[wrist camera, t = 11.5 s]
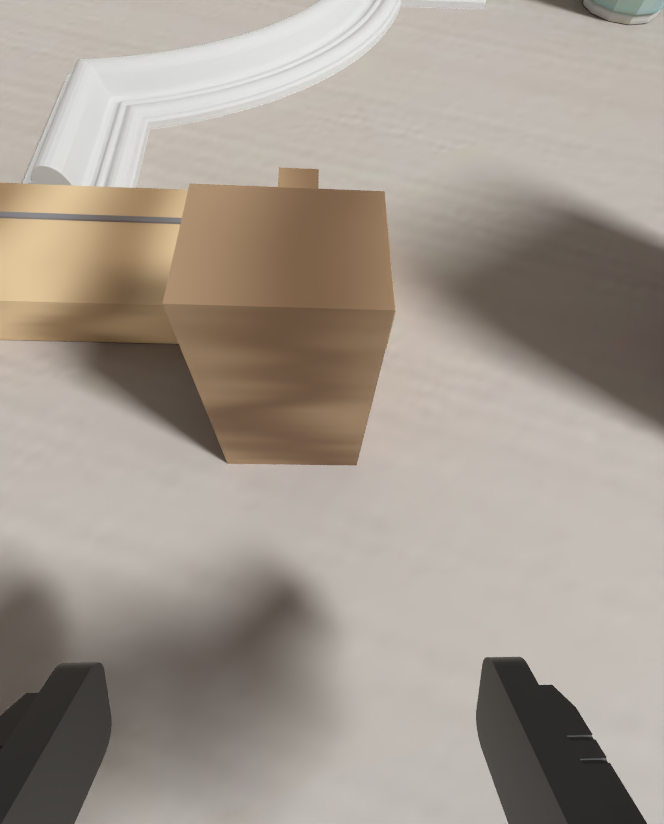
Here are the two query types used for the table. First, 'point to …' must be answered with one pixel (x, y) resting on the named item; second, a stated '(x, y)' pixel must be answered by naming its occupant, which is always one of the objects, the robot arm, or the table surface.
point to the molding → (199, 86)
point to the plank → (87, 262)
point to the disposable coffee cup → (625, 10)
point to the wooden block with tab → (283, 315)
